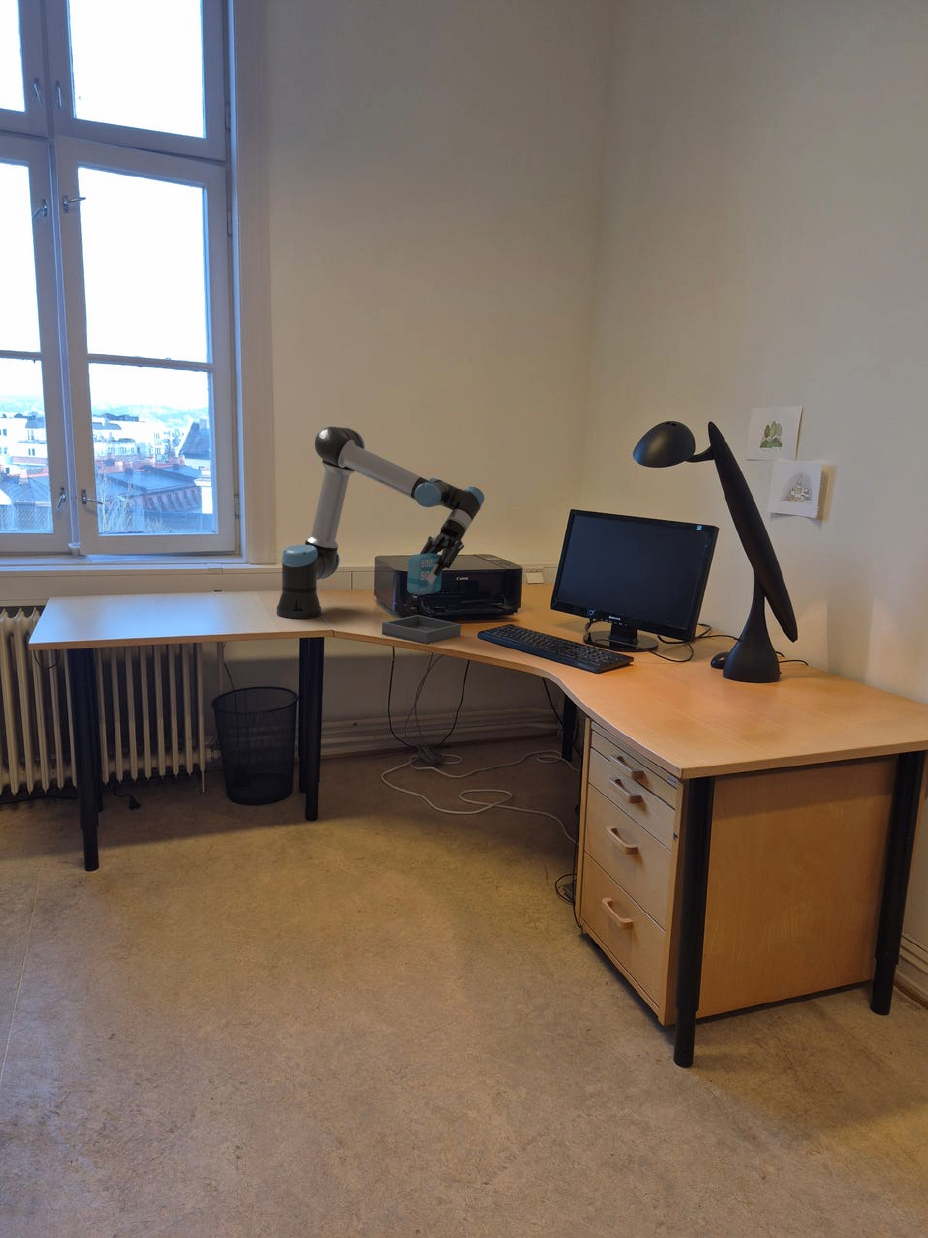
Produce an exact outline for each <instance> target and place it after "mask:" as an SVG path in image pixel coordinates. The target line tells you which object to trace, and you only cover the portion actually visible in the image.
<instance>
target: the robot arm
mask: <svg viewBox="0 0 928 1238" xmlns="http://www.w3.org/2000/svg"><path fill="white" fill-rule="evenodd" d="M314 448H315V451H316V453H317V455H318V457H319V458H321V459H322V462H321V465H322V466H323V468H324V474H323V479H322V483H321V487H320V492H319V496H318V503H317V507H316V511H315V516H314V522H313V525H312V530H311V534H310V535H309V536H308V537H306V538H305V542H304V544H296V545H289V546H287V547H285V548H284V549H283V551H282V558H281V570H282V571H281V572H282V573H281V587H282V589H281V594H280V598H279V601H278V604H277V606H276V615H277V616H279V617H282V618H283V617H284V618H289V619H312V618H318V617H320V616H321V615H322V606H321V604H320V601H319V597H318V593H317V592H318V591H317V589H318V586H317V585H318V580H323V579H327V578H328V577H330V576H332V575H333V574H335V573H336V571H337V570H338V568H339V566H340V555H339V554H338V549H339V544H338V543H337V541H336V539H337V533H338V529H339V524H340V520H341V516H342V511H343V506H344V502H345V498H346V493H347V488H348V485H349V480H350V476H351V475H352V474H353V473H355V472H357V473H359V474H361V475H363V476H365V477H366V478H368V479H369V478H370V479H371V480H373V481H376V482H377V483H380V484H382V485H383V486H385V487H388V488H390V489H392V490H394V491H396V492H398V493H401V494H402V495H404V496H406V497H409V498H410V499H412V500H414V501H416V502H417V504H418V505H419V506H421V507H424V508H433V507H436V506H442V507H444V508H447V509H449V510H451V512H450V513H449V515H448V516H447V518H446V520H445V521H444V523H443V525H442V526H441V528H440V532H439V534H437V535H436V536H435V537H432V535H430V536H427V537H428V538H427V540H426V541H427V542H426V544H425V545H424V546H423V548H422V549H421V551H420V553H419V554H426V553H432V554H438V553H441V554H440V555H441V557H440V560H439V561H437V562H438V564H439V565H438V564H435V565H434V567H433V569H432V570H431V572H430V574H429V575H428V577H427V578H426V580H427V582H428V583H429V585H432V583H433V581H434V580H435V578H436V576H438V575H439V574H440V572H441V571H442V572H443V570H444V569H445V568H446V569H450V568H451V567H452V565H453V563H454V562H455V560H456V558H457V557H458V555H459V554H460V552H461V551H462V550H463V549H464V548H465V544H464V543H463V541H462V539H463V537H464V536H465V534H466V532H467V531H468V528H469V527H470V525H471V524H472V522H473V520H474V519H475V517H476V516H477V514H478V512H479V511H480V510H481V509H482V508H481V507H482V506H483V503H484V501H485V494H484V492H482V490H481V489H480V488H478V487H476V486H467V487H466V488H465V489H461V488H458V487H456V486H454V485H452V484H450V483H447V482H445V481H443V480H441V479H437V478H435V477H431V478H429V479H426V478H424V477H422V476H420V475H418V474H416V473H414V472H412V471H410V470H408V469H406V468H404V467H402V466H399V465H397V464H396V463H393V462H392V461H389V460H388V459H385V458H383V457H381V456H379V455H377V454H374V453H372V452H371V451H368V450H366V449H365V441H364V440H363V437H362V436H361V434H359V433H358V432H357V431H356V430H354V429H351V428H348V427H340V426H339V427H337V426H327V427H325V428H323V429H321V430H320V431H319V432H318V433H317V434H316V436H315V440H314Z"/></svg>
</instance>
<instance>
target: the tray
mask: <svg viewBox="0 0 928 1238" xmlns="http://www.w3.org/2000/svg"><path fill="white" fill-rule="evenodd" d="M461 630H462V623H456V622H451V621H449V620H448V621H447V620H442V619H439V618H438V619H437V618H433V617H428V616H424V615H419V614H417V615H411V616H407V617H401V618H398V619H392V620H389V621H383V622H382V623H381V635H384V636H386V637H387V636H389V637H393V638H396V639H400V640H403V641H409V642H413V643H417V644H420V645H421V644H422V645H426V646H427V645H430V644H431V645H432V644H435V643H438V642H442V641H446V640H449V639H453V638H457V637H461V633H462V631H461Z"/></svg>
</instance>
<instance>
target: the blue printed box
mask: <svg viewBox="0 0 928 1238" xmlns="http://www.w3.org/2000/svg"><path fill="white" fill-rule="evenodd" d="M440 557H441V554H438V553H437V554H432V553H426V554H420V553H419V554H411V555H409V557H408V565H407V584H406V586H407V588H406V590H407V592H408V593H410V594H414V595H420V596H422V595H423V596H424V595H428V594H433V593H434V594H435V593H438V592H440V590H441V589H442V578H443V577H442V576H443V570H442V571H441V572H440V574H439V575H438V576H436V578H435V580H434V581H433V583H432V585H429V583H428V582H427V580H426V578H427V577H428V575H429V574H430V572H431V570H432V569H433V567H434V565H435V564H438V562H437V561H439V560H440ZM438 565H439V564H438Z"/></svg>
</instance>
